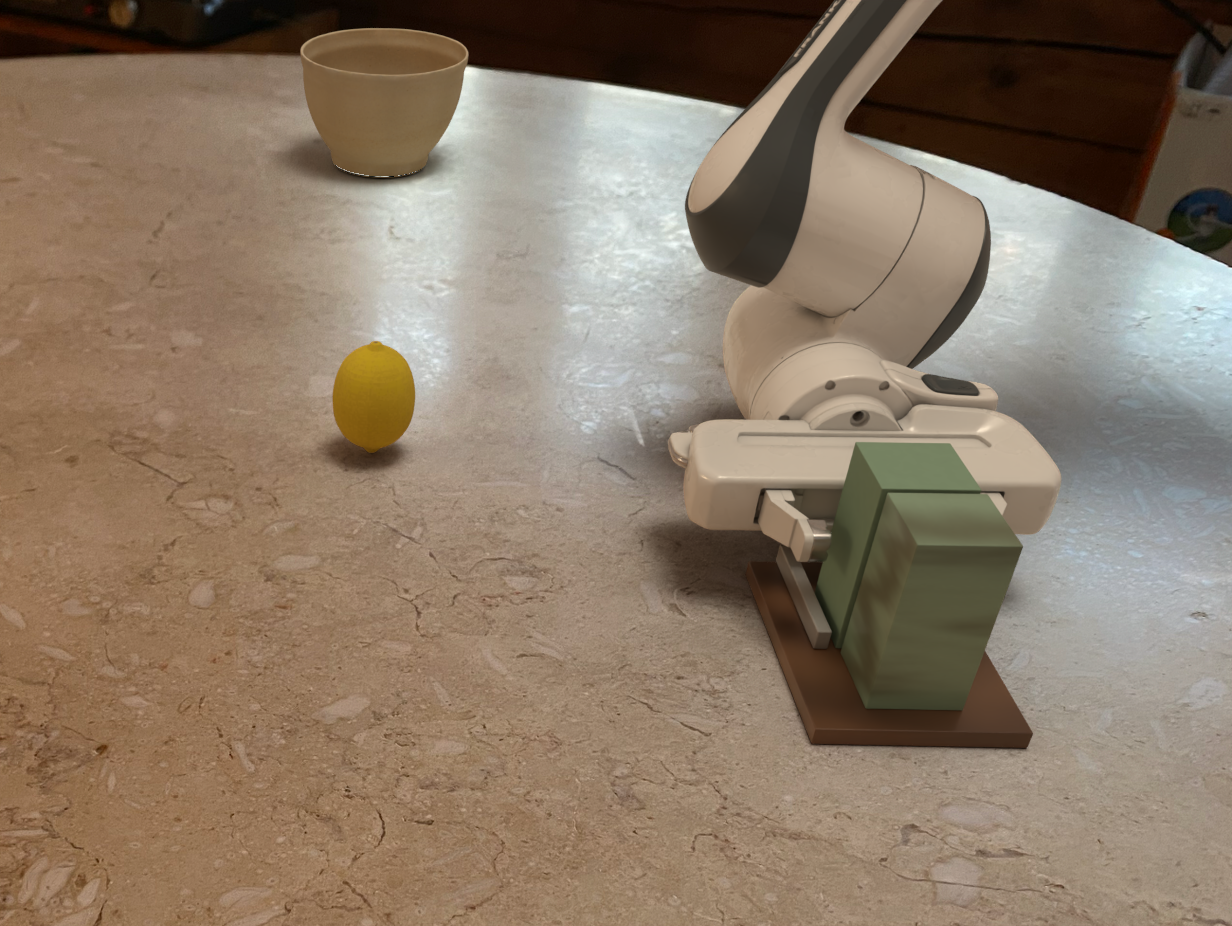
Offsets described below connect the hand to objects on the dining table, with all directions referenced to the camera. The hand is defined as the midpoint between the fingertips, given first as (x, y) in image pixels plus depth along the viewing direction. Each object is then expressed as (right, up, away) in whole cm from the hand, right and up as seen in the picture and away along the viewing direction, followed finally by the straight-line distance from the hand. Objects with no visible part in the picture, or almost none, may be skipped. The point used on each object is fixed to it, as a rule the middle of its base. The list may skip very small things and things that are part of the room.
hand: (902, 552), depth 78 cm
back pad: (0, -4, +4) cm, 5 cm away
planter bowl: (-23, +47, +69) cm, 87 cm away
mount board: (0, -6, +3) cm, 6 cm away
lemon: (-27, +9, +22) cm, 36 cm away
